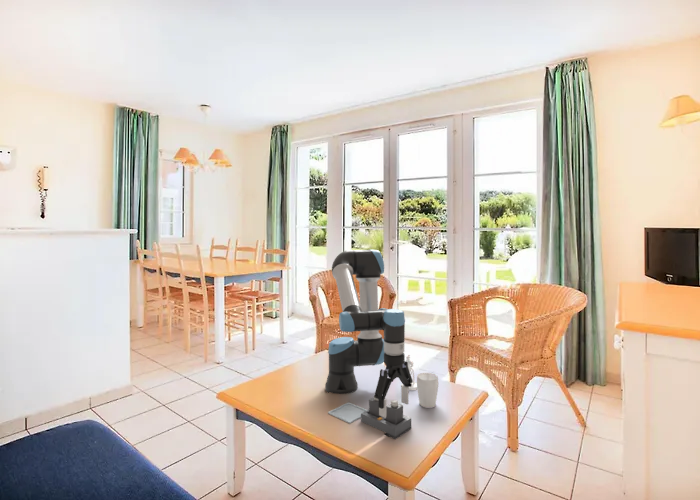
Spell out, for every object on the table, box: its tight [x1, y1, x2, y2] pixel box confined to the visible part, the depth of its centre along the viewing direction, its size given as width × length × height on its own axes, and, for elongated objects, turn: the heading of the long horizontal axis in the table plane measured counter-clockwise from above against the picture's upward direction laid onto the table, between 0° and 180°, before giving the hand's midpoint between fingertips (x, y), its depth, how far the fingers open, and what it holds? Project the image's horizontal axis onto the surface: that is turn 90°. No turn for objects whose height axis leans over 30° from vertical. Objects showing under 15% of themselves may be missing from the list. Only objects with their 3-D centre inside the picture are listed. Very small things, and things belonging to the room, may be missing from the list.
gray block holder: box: [360, 396, 412, 440], centre depth 140 cm, size 16×10×10 cm, turn 47°
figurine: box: [400, 354, 418, 391], centre depth 177 cm, size 9×9×15 cm
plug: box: [386, 399, 404, 425], centre depth 138 cm, size 4×4×10 cm
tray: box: [327, 402, 368, 424], centre depth 149 cm, size 12×12×2 cm
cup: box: [416, 372, 439, 409], centre depth 158 cm, size 9×9×12 cm
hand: (394, 409), depth 138 cm, fingers open, 13 cm apart
